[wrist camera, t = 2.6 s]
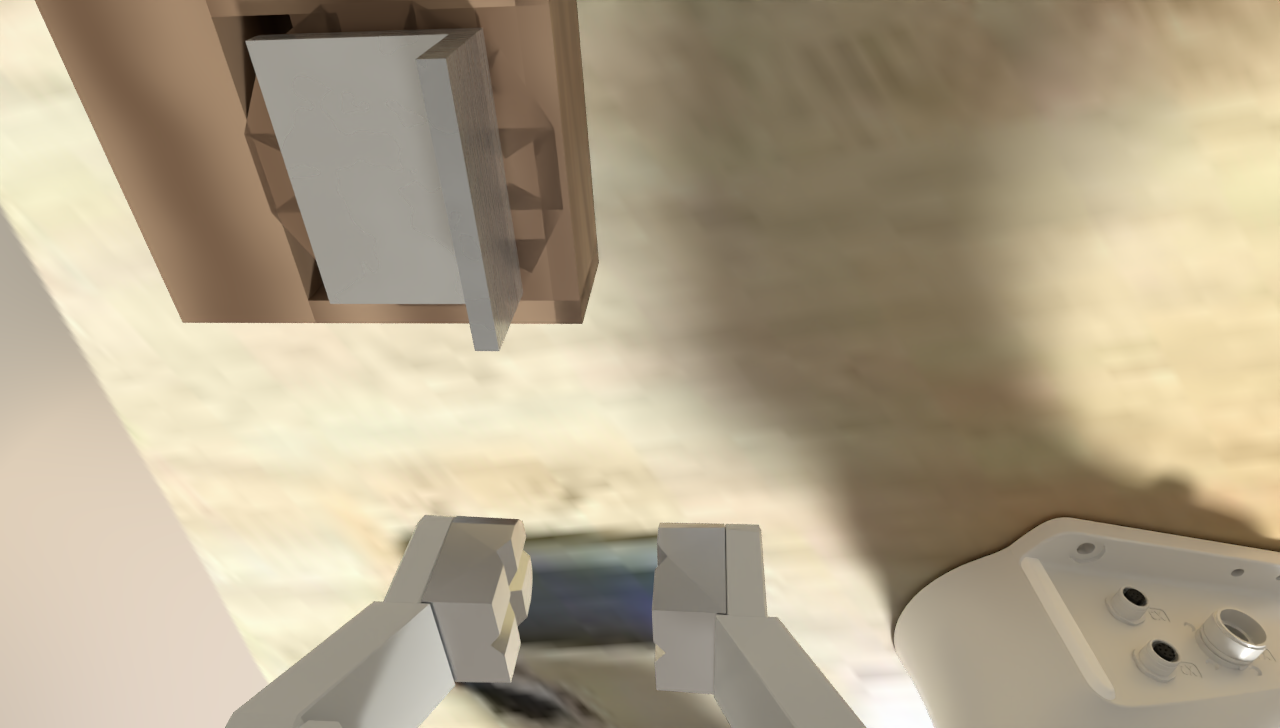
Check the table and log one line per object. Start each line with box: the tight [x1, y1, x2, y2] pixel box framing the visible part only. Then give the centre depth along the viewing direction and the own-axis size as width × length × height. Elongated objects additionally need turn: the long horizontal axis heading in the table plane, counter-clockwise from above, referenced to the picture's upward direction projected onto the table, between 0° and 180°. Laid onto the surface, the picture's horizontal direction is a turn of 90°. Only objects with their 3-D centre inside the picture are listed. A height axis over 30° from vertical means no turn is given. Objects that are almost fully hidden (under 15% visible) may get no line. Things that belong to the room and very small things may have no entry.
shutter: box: [245, 28, 523, 351], centre depth 24 cm, size 7×9×4 cm
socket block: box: [35, 0, 599, 324], centre depth 28 cm, size 16×12×5 cm
